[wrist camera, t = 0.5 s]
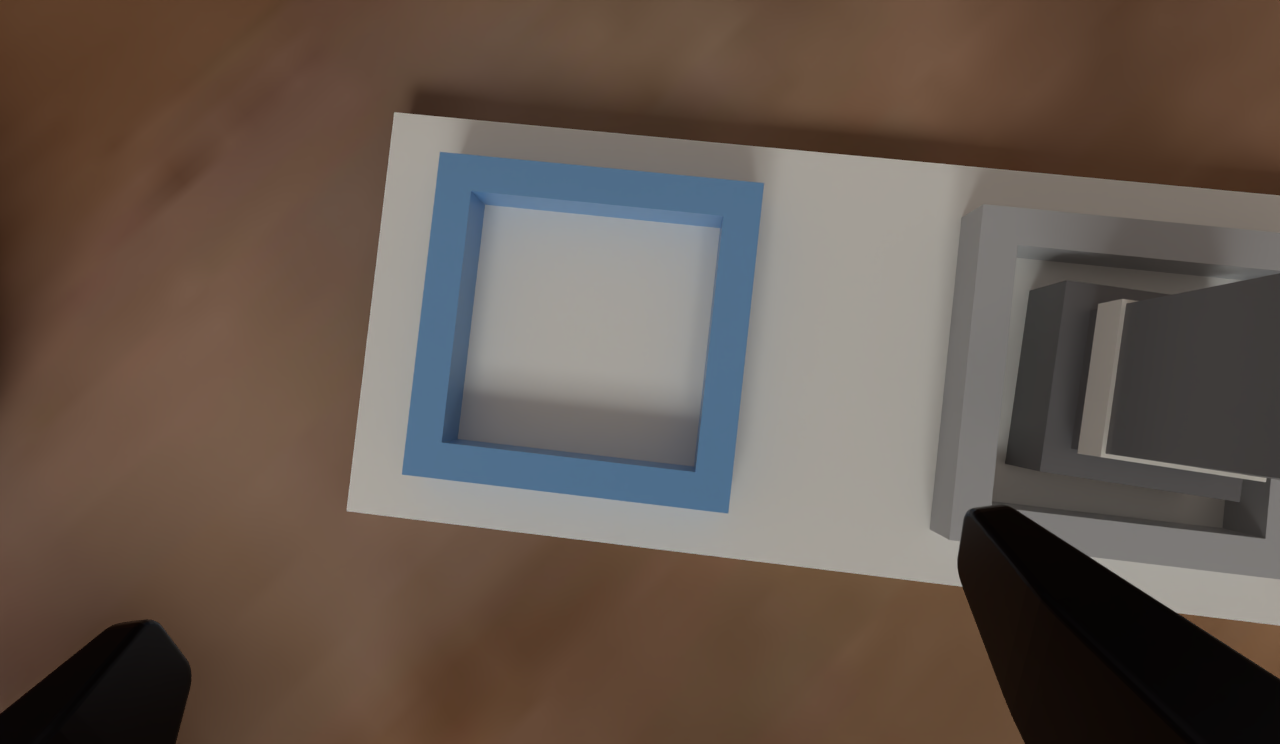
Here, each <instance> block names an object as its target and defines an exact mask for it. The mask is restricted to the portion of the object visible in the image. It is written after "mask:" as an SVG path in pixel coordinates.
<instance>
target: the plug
mask: <svg viewBox="0 0 1280 744" xmlns="http://www.w3.org/2000/svg"><path fill="white" fill-rule="evenodd" d="M1005 464H1008V465H1013V466H1017V467H1022V468H1026V469H1031V470H1036V471H1040V472H1047V473H1053V474H1060V475H1066V476H1073V477H1079V478H1086V479H1092V480H1099V481H1105V482H1112V483H1118V484H1125V485H1131V486H1138V487H1144V488H1151V489H1157V490H1164V491H1170V492H1177V493H1183V494H1190V495H1196V496H1203V497H1209V498H1216V499H1222V500H1229V501H1235V502H1240V496H1241V489H1242V482H1243V479H1247V480H1254V481H1261V482H1266V479H1267V478H1270V479H1276V480H1280V273H1279V274H1274V275H1269V276H1264V277H1259V278H1254V279H1249V280H1244V281H1239V282H1234V283H1228V284H1223V285H1218V286H1213V287H1208V288H1203V289H1198V290H1193V291H1188V292H1183V293H1178V294H1172V295H1170V294H1163V293H1156V292H1149V291H1142V290H1135V289H1127V288H1120V287H1113V286H1106V285H1099V284H1092V283H1085V282H1078V281H1070V280H1065V281H1061V282H1058V283H1054V284H1051V285H1047V286H1044V287H1040V288H1037V289H1034V290H1030V291H1029V298H1028V305H1027V312H1026V319H1025V326H1024V333H1023V340H1022V347H1021V354H1020V361H1019V368H1018V375H1017V382H1016V389H1015V396H1014V403H1013V410H1012V417H1011V424H1010V432H1009V439H1008V446H1007V453H1006V460H1005Z"/></svg>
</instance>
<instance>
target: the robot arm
mask: <svg viewBox="0 0 1280 744" xmlns="http://www.w3.org/2000/svg"><path fill="white" fill-rule="evenodd" d="M957 568H958V574H959V578H960V581H961V584H962V587H963V590H964V592H965V595H966V598H967V600H968V603H969V606H970V608H971V611H972V614H973V616H974V619H975V622H976V624H977V627H978V629H979V632H980V635H981V637H982V640H983V643H984V645H985V648H986V651H987V653H988V656H989V659H990V661H991V664H992V667H993V669H994V672H995V675H996V677H997V680H998V682H999V685H1000V688H1001V690H1002V693H1003V696H1004V698H1005V700H1006V703H1007V705H1008V708H1009V710H1010V713H1011V715H1012V717H1013V719H1014V722H1015V724H1016V726H1017V728H1018V730H1019V732H1020V734H1021V736H1022V738H1023V740H1024V742H1025V744H1280V679H1279V678H1277V677H1276V676H1274V675H1272V674H1271V673H1269V672H1268V671H1266V670H1265V669H1263V668H1262V667H1260V666H1258V665H1257V664H1255V663H1254V662H1252V661H1251V660H1249V659H1248V658H1246V657H1244V656H1243V655H1241V654H1240V653H1238V652H1237V651H1235V650H1234V649H1232V648H1230V647H1229V646H1227V645H1226V644H1224V643H1223V642H1221V641H1220V640H1218V639H1216V638H1215V637H1213V636H1212V635H1210V634H1209V633H1207V632H1206V631H1204V630H1202V629H1201V628H1199V627H1198V626H1196V625H1195V624H1193V623H1192V622H1190V621H1188V620H1187V619H1185V618H1184V617H1182V616H1181V615H1179V614H1178V613H1176V612H1174V611H1173V610H1171V609H1170V608H1168V607H1167V606H1165V605H1164V604H1162V603H1160V602H1159V601H1157V600H1156V599H1154V598H1153V597H1151V596H1150V595H1148V594H1146V593H1145V592H1143V591H1142V590H1140V589H1139V588H1137V587H1136V586H1134V585H1132V584H1131V583H1129V582H1128V581H1126V580H1125V579H1123V578H1122V577H1120V576H1118V575H1117V574H1115V573H1114V572H1112V571H1111V570H1109V569H1108V568H1106V567H1104V566H1103V565H1101V564H1100V563H1098V562H1097V561H1095V560H1094V559H1092V558H1090V557H1089V556H1087V555H1086V554H1084V553H1083V552H1081V551H1080V550H1078V549H1076V548H1075V547H1073V546H1072V545H1070V544H1069V543H1067V542H1066V541H1064V540H1062V539H1061V538H1059V537H1058V536H1056V535H1055V534H1053V533H1052V532H1050V531H1048V530H1047V529H1045V528H1044V527H1042V526H1041V525H1039V524H1038V523H1036V522H1034V521H1033V520H1031V519H1030V518H1028V517H1027V516H1025V515H1024V514H1022V513H1020V512H1019V511H1017V510H1016V509H1014V508H1012V507H1010V506H1008V505H1004V504H997V505H989V506H982V507H975V508H971V509H969V510H968V511H967V512H966V513H965V516H964V519H963V525H962V531H961V538H960V544H959V551H958V557H957ZM190 685H191V668H190V665H189V662H188V661H187V659H186V658H185V656H184V655H183V654H182V652H181V651H180V650H179V648H178V647H177V646H176V644H175V643H174V642H173V640H172V639H171V638H170V636H169V635H168V634H167V632H166V631H165V630H164V628H163V627H162V626H161V625H160V624H159V623H158V622H156V621H153V620H148V619H146V620H139V621H131V622H124V623H118V624H115V625H112V626H110V627H109V628H107V629H106V630H104V631H103V632H102V633H101V634H99V635H98V636H97V637H96V638H94V639H93V640H92V641H91V642H89V643H88V644H87V645H86V646H84V647H83V648H82V649H81V650H79V651H78V652H77V653H76V654H74V655H73V656H72V657H71V658H69V659H68V660H67V661H66V662H64V663H63V664H62V665H61V666H59V667H58V668H57V669H56V670H54V671H53V672H52V673H51V674H49V675H48V676H47V677H46V678H45V679H43V680H42V681H41V682H40V683H38V684H37V685H36V686H35V687H33V688H32V689H31V690H30V691H28V692H27V693H26V694H25V695H23V696H22V697H21V698H20V699H18V700H17V701H16V702H15V703H13V704H12V705H11V706H10V707H8V708H7V709H6V710H5V711H3V712H2V713H1V714H0V744H176V740H177V736H178V732H179V728H180V724H181V721H182V717H183V713H184V709H185V705H186V701H187V698H188V694H189V690H190Z"/></svg>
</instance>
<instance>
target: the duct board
mask: <svg viewBox="0 0 1280 744" xmlns="http://www.w3.org/2000/svg"><path fill="white" fill-rule="evenodd" d="M1279 273H1280V195H1269V194H1258V193H1248V192H1237V191H1227V190H1216V189H1205V188H1195V187H1184V186H1173V185H1163V184H1152V183H1141V182H1131V181H1120V180H1109V179H1099V178H1088V177H1077V176H1067V175H1056V174H1046V173H1035V172H1024V171H1014V170H1003V169H992V168H982V167H971V166H960V165H950V164H939V163H928V162H918V161H907V160H897V159H886V158H875V157H865V156H854V155H843V154H833V153H822V152H811V151H801V150H790V149H779V148H769V147H758V146H747V145H737V144H726V143H716V142H705V141H694V140H684V139H673V138H662V137H652V136H641V135H630V134H620V133H609V132H598V131H588V130H577V129H566V128H556V127H545V126H535V125H524V124H513V123H503V122H492V121H481V120H471V119H460V118H449V117H439V116H428V115H417V114H407V113H396V112H394V119H393V127H392V136H391V144H390V152H389V161H388V169H387V177H386V186H385V194H384V202H383V211H382V219H381V227H380V236H379V244H378V252H377V261H376V269H375V277H374V286H373V294H372V302H371V311H370V319H369V327H368V336H367V344H366V353H365V361H364V369H363V378H362V386H361V394H360V403H359V411H358V419H357V428H356V436H355V444H354V453H353V461H352V469H351V478H350V486H349V494H348V503H347V511H350V512H358V513H366V514H374V515H382V516H390V517H398V518H407V519H415V520H423V521H431V522H439V523H447V524H456V525H464V526H472V527H480V528H488V529H496V530H505V531H513V532H521V533H529V534H537V535H545V536H554V537H562V538H570V539H578V540H586V541H594V542H602V543H611V544H619V545H627V546H635V547H643V548H651V549H660V550H668V551H676V552H684V553H692V554H700V555H709V556H717V557H725V558H733V559H741V560H749V561H757V562H766V563H774V564H782V565H790V566H798V567H806V568H815V569H823V570H831V571H839V572H847V573H855V574H864V575H872V576H880V577H888V578H896V579H904V580H912V581H921V582H929V583H937V584H945V585H953V586H961V587H962V584H961V581H960V578H959V574H958V568H957V557H958V551H959V544H960V538H961V531H962V525H963V519H964V516H965V513H966V512H967V511H968V510H969V509H971V508H975V507H982V506H989V505H997V504H1004V505H1008V506H1010V507H1012V508H1014V509H1016V510H1017V511H1019V512H1020V513H1022V514H1024V515H1025V516H1027V517H1028V518H1030V519H1031V520H1033V521H1034V522H1036V523H1038V524H1039V525H1041V526H1042V527H1044V528H1045V529H1047V530H1048V531H1050V532H1052V533H1053V534H1055V535H1056V536H1058V537H1059V538H1061V539H1062V540H1064V541H1066V542H1067V543H1069V544H1070V545H1072V546H1073V547H1075V548H1076V549H1078V550H1080V551H1081V552H1083V553H1084V554H1086V555H1087V556H1089V557H1090V558H1092V559H1094V560H1095V561H1097V562H1098V563H1100V564H1101V565H1103V566H1104V567H1106V568H1108V569H1109V570H1111V571H1112V572H1114V573H1115V574H1117V575H1118V576H1120V577H1122V578H1123V579H1125V580H1126V581H1128V582H1129V583H1131V584H1132V585H1134V586H1136V587H1137V588H1139V589H1140V590H1142V591H1143V592H1145V593H1146V594H1148V595H1150V596H1151V597H1153V598H1154V599H1156V600H1157V601H1159V602H1160V603H1162V604H1164V605H1165V606H1167V607H1168V608H1170V609H1171V610H1173V611H1174V612H1176V613H1182V614H1190V615H1198V616H1206V617H1214V618H1223V619H1231V620H1239V621H1247V622H1255V623H1263V624H1271V625H1280V480H1276V479H1270V478H1267V479H1266V482H1261V481H1254V480H1247V479H1243V482H1242V489H1241V496H1240V502H1235V501H1229V500H1222V499H1216V498H1209V497H1203V496H1196V495H1190V494H1183V493H1177V492H1170V491H1164V490H1157V489H1151V488H1144V487H1138V486H1131V485H1125V484H1118V483H1112V482H1105V481H1099V480H1092V479H1086V478H1079V477H1073V476H1066V475H1060V474H1053V473H1047V472H1040V471H1036V470H1031V469H1026V468H1022V467H1017V466H1013V465H1008V464H1005V460H1006V453H1007V446H1008V439H1009V432H1010V424H1011V417H1012V410H1013V403H1014V396H1015V389H1016V382H1017V375H1018V368H1019V361H1020V354H1021V347H1022V340H1023V333H1024V326H1025V319H1026V312H1027V305H1028V298H1029V291H1030V290H1034V289H1037V288H1040V287H1044V286H1047V285H1051V284H1054V283H1058V282H1061V281H1065V280H1070V281H1078V282H1085V283H1092V284H1099V285H1106V286H1113V287H1120V288H1127V289H1135V290H1142V291H1149V292H1156V293H1163V294H1170V295H1172V294H1178V293H1183V292H1188V291H1193V290H1198V289H1203V288H1208V287H1213V286H1218V285H1223V284H1228V283H1234V282H1239V281H1244V280H1249V279H1254V278H1259V277H1264V276H1269V275H1274V274H1279Z"/></svg>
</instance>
